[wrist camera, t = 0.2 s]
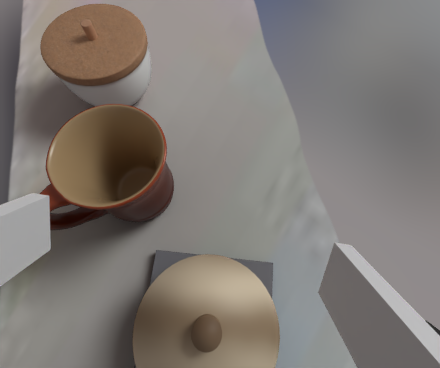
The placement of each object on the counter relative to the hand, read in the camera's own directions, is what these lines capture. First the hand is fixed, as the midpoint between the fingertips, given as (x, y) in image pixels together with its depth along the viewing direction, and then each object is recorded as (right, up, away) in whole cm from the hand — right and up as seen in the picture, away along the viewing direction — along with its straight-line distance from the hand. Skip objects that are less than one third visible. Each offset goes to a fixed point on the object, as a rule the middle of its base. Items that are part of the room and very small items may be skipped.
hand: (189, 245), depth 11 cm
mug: (-9, +1, +16) cm, 18 cm away
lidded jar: (-12, +15, +21) cm, 29 cm away
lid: (0, -10, +11) cm, 15 cm away
